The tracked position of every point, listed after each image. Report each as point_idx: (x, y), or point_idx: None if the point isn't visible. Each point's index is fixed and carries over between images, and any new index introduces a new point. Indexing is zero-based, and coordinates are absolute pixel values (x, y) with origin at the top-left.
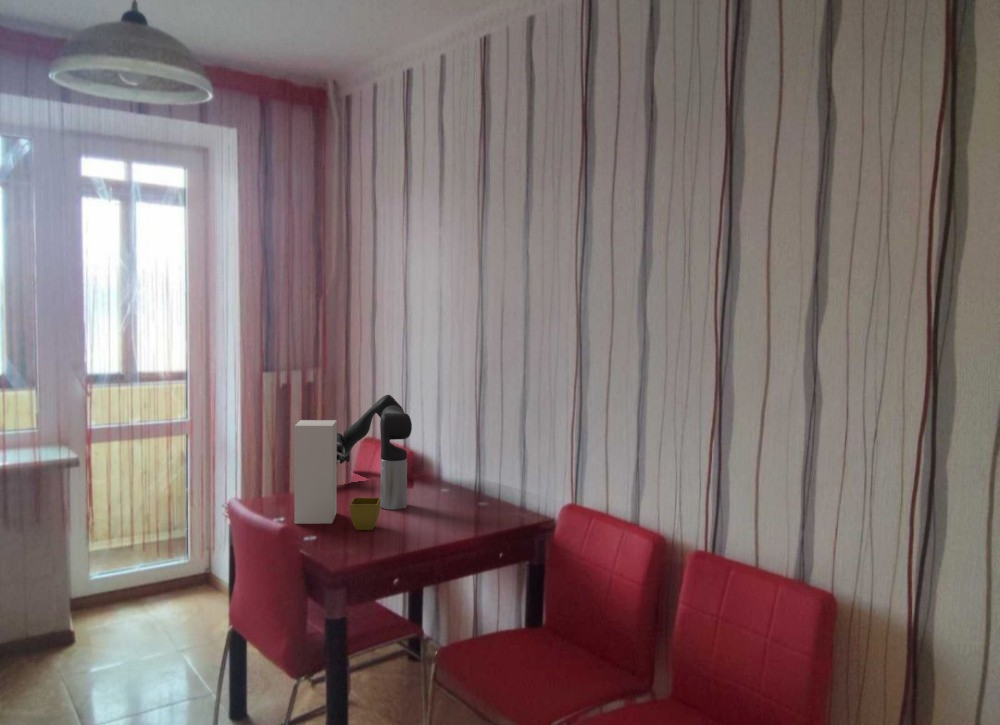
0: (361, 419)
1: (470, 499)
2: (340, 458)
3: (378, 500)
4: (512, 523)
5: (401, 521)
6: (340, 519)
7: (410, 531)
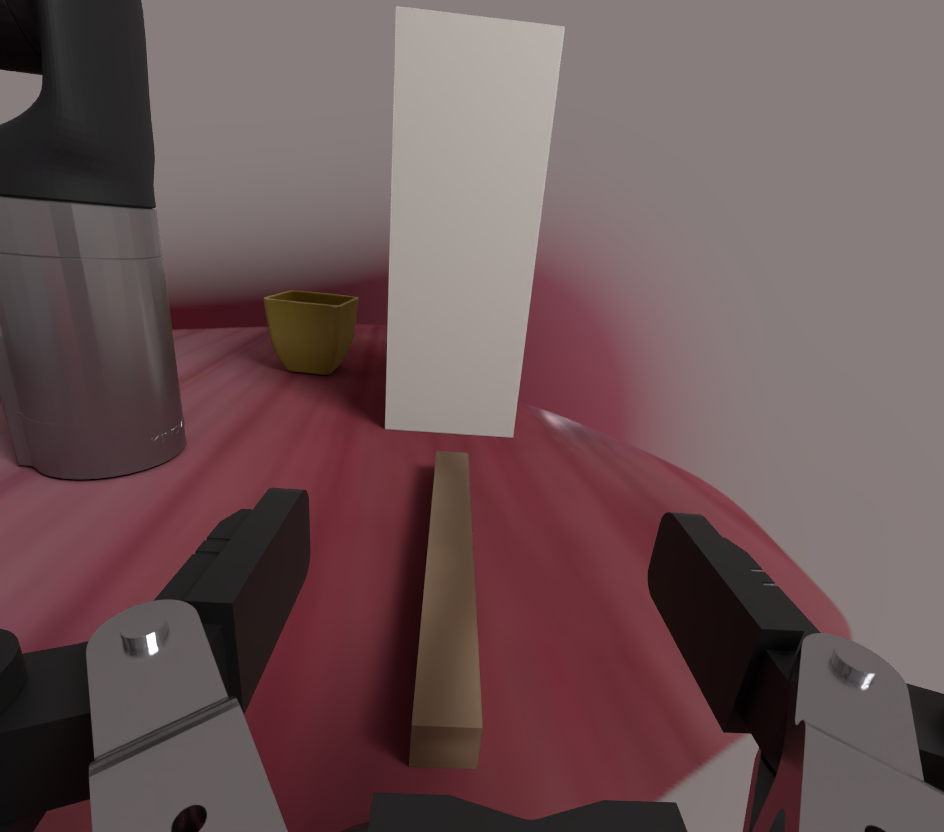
0: None
1: None
2: (293, 489)
3: (278, 294)
4: None
5: (194, 379)
6: (373, 401)
7: (212, 353)
